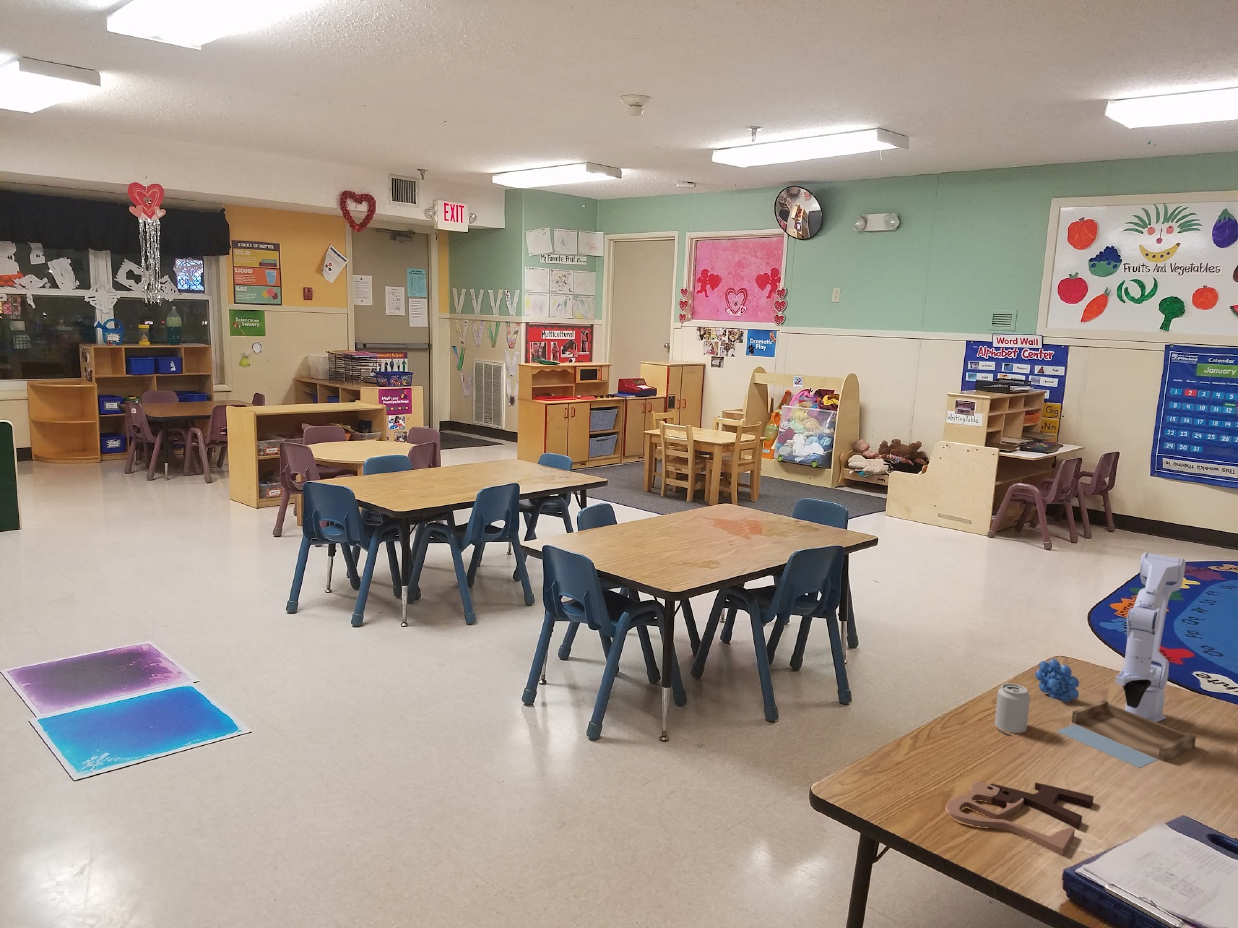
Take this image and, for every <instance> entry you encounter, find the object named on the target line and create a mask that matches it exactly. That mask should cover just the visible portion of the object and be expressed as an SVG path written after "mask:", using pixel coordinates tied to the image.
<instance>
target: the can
mask: <svg viewBox="0 0 1238 928" xmlns="http://www.w3.org/2000/svg"><path fill="white" fill-rule="evenodd" d="M1028 691H1029V690H1028V688H1026V686H1024V685H1021V684H1017V683H1010V682H1008V683H1003V684H1001V685H1000V688H999V689H998V690H997V697H996V705H995V706H996V708H995V709H996V710H995V716H994V717H995V718H994V725H995V726H996V729H997V731H998V732H999V733H1000V732H1001V733H1000V734H1002V733H1003V734H1002V735H1004V736H1007V737H1011V736H1013V738H1015V736H1014V735H1011V734H1009V733H1013V734H1022V733H1024V732H1025V733H1026V731H1027V729H1028V728H1027V727H1028V720H1029V711H1030V710H1029V709H1030V702H1031V701H1030V700H1031V696H1030V694H1029V693H1028ZM1007 732H1008V733H1007Z"/></svg>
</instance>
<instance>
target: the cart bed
mask: <svg viewBox="0 0 1238 928" xmlns="http://www.w3.org/2000/svg"><path fill="white" fill-rule="evenodd" d="M1071 714H1072V716H1071V723H1073V725H1074V724H1076V725H1078V726H1080V727H1083V728H1085V729H1087V730H1090V731H1092V732H1094V733H1097V734H1099V735H1101V736H1104V737H1106V738H1109V739H1111V740H1113V741H1116V742H1118V743H1120V744H1123V745H1125V746H1127V747H1130V748H1132V749H1134V750H1137V751H1139V752H1141V753H1144V754H1146V755H1148V756H1151V757H1153V758H1156V759H1158V760H1159V761H1161V762H1165V761H1167V760H1170V759H1172V758H1175V757H1176V756H1179V755H1181V754H1183V753H1185V752H1187V751H1190V750H1193V749H1195V747H1196V746H1195V745H1196V738H1197V736H1196V735H1194V734H1193V733H1190V734H1187V733H1184V732H1182V731H1179V730H1176V729H1174V728H1171V727H1170V726H1166V725H1164V724H1162V723H1159V722H1154V721H1151V720H1149V719H1146V718H1144V717H1141V716H1139V715H1136V714H1134V713H1131V712H1128V711H1126V710H1125V709H1123V708H1120V707H1117V706H1115V705H1113V704H1111V703H1109V701H1107V700H1101V701H1098V702H1094V703H1092V704H1089V705H1086V706H1083V707H1081V708H1077V709H1075V710H1072V713H1071Z"/></svg>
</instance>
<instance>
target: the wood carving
mask: <svg viewBox="0 0 1238 928" xmlns="http://www.w3.org/2000/svg"><path fill="white" fill-rule="evenodd" d="M1034 790H1036V791H1037V790H1038V792H1036V793H1030V792H1027V791H1023V790H1020V789H1016V788H1013V787H1008V786H1003V785H1000V784H996V783H995V784H994V783H986V782H982V781H974V782H973V783H972V785H970V790H969V792H968V793H966V794H962V795H961V794H960V795H957V796H955V797H953V798H951V799H949V800H948V801H947V802H946V805H945V810H946V811H947V813H948V814H949V815H950V816H952V817H953V818H955V819H957V820H959V821H961V822H964V823H967V824H972V825H974V826H980V827H988V828H997V829H996V830H1001V829H1005V830H1004V831H1007V832H1009V831H1010V832H1009V833H1012V832H1014V833H1016V834H1015V835H1017V834H1019V835H1021V836H1020V837H1022V836H1024V837H1026V838H1028V839H1031V840H1033V841H1034V842H1033V841H1032V842H1033V843H1035V842H1036V843H1035V844H1037V845H1038V846H1041V845H1042V846H1041V847H1043V848H1045V847H1046V848H1045V849H1047V850H1049V851H1051V850H1052V852H1053V853H1055V854H1057V853H1058V854H1057V855H1059V854H1060V855H1059V856H1062V857H1063V856H1064V855H1065V853H1066V851H1067V850H1068V848H1069V846H1070V845H1071V844H1072V843H1071V842H1072V841H1073V839H1074V838H1075V833H1076V830H1079V828H1080V827H1081V824H1082V820H1083V816H1082V815H1081V814H1079V813H1077V812H1075V811H1072V810H1070V809H1067V808H1065V807H1063V806H1060V805H1059V804H1057V803H1058V801H1061V802H1064V803H1065V802H1066V803H1068V804H1073V805H1076V806H1079V807H1082V808H1085V809H1089V810H1090V809H1091V808H1092V806H1093V804H1094V795H1090V794H1087V793H1083V792H1078V791H1076V790H1075V791H1074V790H1072V789H1071V790H1070V789H1066V788H1062V787H1057V786H1053V785H1049V784H1045V783H1040V782H1035V783H1034ZM974 800H983V801H987V802H992V803H991V804H994V803H995V804H994V805H995V806H996V805H997V807H998V806H1000V807H999V808H1002V809H1000V810H998V811H996V810H993V809H991V808H989V807H986V806H985V805H981V804H980V803H978V802H977V801H975V802H974ZM1024 805H1025V806H1027V807H1029V806H1030V808H1032V809H1034V810H1037V811H1039V812H1041V813H1044V814H1046V815H1048V816H1050V817H1052V818H1054V819H1056V820H1058V821H1060V822H1062V823H1064V824H1065V825H1069V827H1066V828H1063V829H1060V830H1058V831H1057V832H1054V833H1052V834H1051V835H1047V834H1044V833H1042V832H1039V831H1036V830H1033V829H1030V828H1027V827H1025V826H1022V825H1020V824H1017V823H1015V822H1013V821H1011V820H1006V819H1007V818H1009V817H1010V816H1013V815H1014V814H1016V813H1018V812H1019V811H1021V810H1022V809H1023V808H1024ZM966 806H967V807H969V808H971V809H973V810H975V811H978V812H979V813H982V814H984V815H985V816H987V817H989V818H987V817H985V816H983V817H981V816H976V815H972V814H970V813H965V812H963V811H960V810H961V809H962V808H963V807H966ZM1017 811H1018V812H1017ZM1008 816H1009V817H1008ZM1004 818H1005V819H1004ZM1002 819H1003V820H1002ZM1014 833H1013V834H1014ZM1019 835H1018V836H1019ZM1024 837H1023V838H1024ZM1026 838H1025V839H1026ZM1028 839H1027V840H1028ZM1031 840H1030V841H1031Z"/></svg>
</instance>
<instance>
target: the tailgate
mask: <svg viewBox="0 0 1238 928" xmlns="http://www.w3.org/2000/svg"><path fill="white" fill-rule="evenodd" d="M1055 732H1056V733H1059V734H1061V735H1064V736H1065V737H1068V738H1070V739H1072V740H1075V741H1077V742H1079V743H1081V744H1084V745H1085V746H1089V747H1091V748H1093V749H1095V750H1097V751H1100V752H1101V753H1104V754H1107V755H1108V756H1111V757H1113V758H1115V759H1118V760H1120V761H1123V762H1125V763H1127V764H1130V765H1131V766H1134V767H1135V768H1138V769H1140V768H1142V767H1145V766H1146V765H1149V764H1152V763H1154V762H1156V761H1158V760H1159V759H1156V758H1154V757H1152V756H1149V755H1147V754H1145V753H1142V752H1140V751H1138V750H1135V749H1133V748H1131V747H1128V746H1126V745H1124V744H1121V743H1119V742H1116V741H1114V740H1112V739H1109V738H1107V737H1105V736H1102V735H1100V734H1098V733H1095V732H1093V731H1091V730H1088V729H1086V728H1084V727H1081V726H1079V725H1076V724H1074V723H1073V724H1071V725H1069V726H1066V727H1063V728H1060V729H1057V730H1055Z"/></svg>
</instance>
